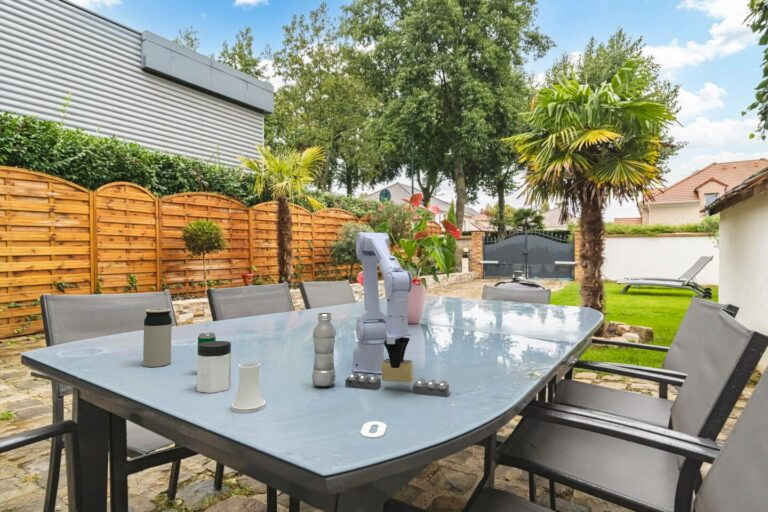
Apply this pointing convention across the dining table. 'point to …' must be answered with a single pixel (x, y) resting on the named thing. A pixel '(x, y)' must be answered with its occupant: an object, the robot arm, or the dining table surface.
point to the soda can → (206, 338)
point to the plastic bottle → (324, 351)
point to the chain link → (367, 427)
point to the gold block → (397, 371)
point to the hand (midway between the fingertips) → (396, 366)
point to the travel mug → (157, 337)
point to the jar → (214, 366)
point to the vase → (248, 389)
